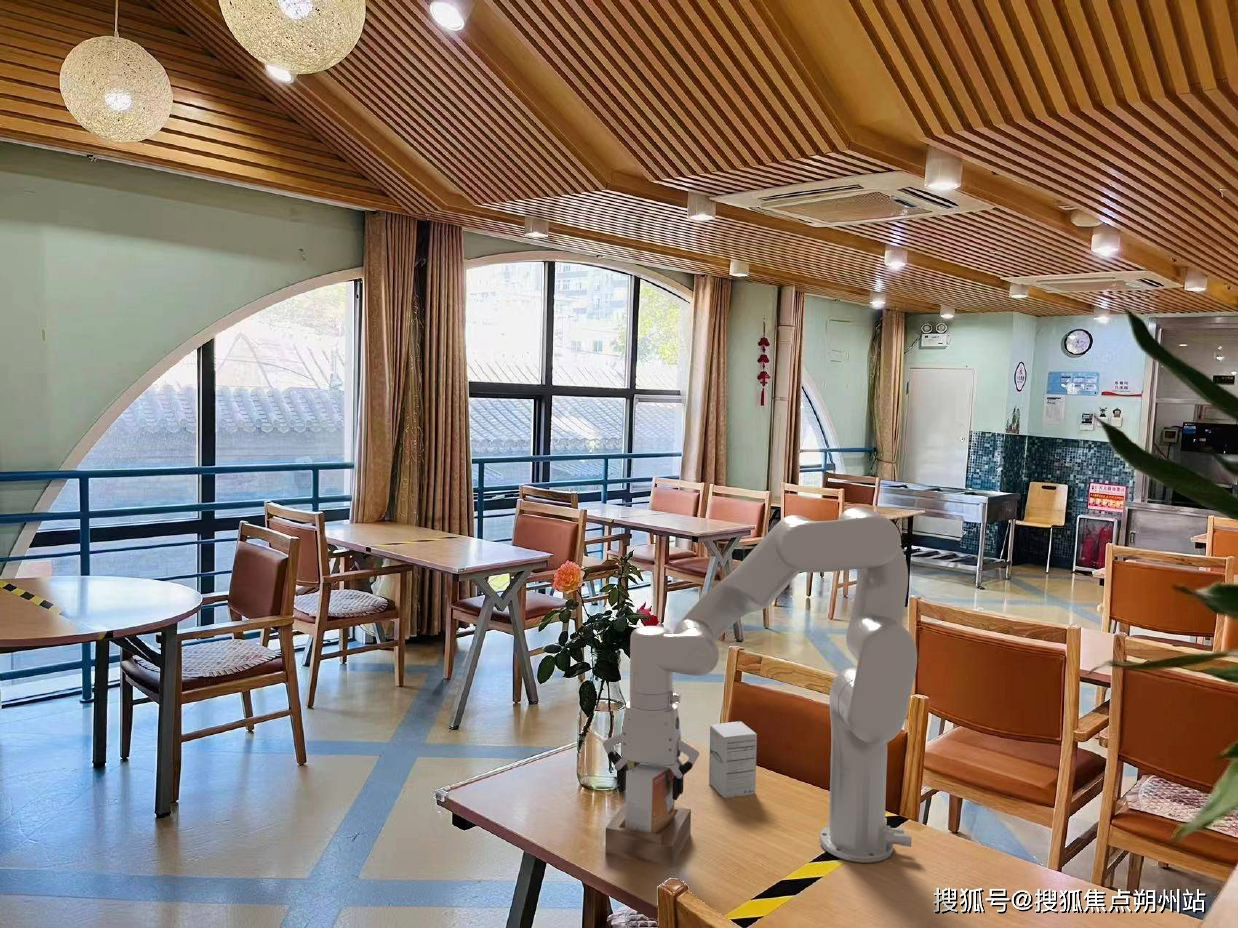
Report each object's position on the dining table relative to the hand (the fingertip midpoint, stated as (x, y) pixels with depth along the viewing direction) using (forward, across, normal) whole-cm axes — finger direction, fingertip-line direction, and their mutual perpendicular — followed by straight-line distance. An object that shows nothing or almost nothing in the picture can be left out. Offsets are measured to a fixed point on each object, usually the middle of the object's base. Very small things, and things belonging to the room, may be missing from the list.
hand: (649, 793), depth 158 cm
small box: (+6, 0, 0) cm, 6 cm away
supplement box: (+10, -10, -27) cm, 30 cm away
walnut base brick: (+10, 0, 0) cm, 10 cm away
